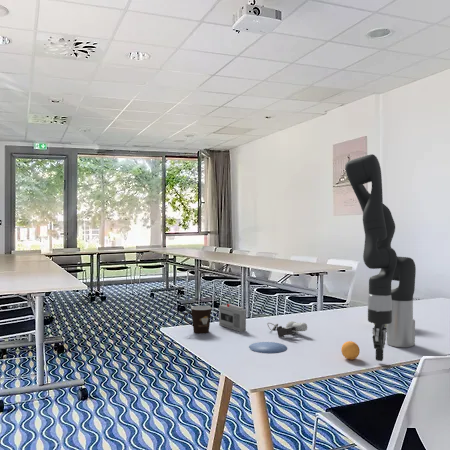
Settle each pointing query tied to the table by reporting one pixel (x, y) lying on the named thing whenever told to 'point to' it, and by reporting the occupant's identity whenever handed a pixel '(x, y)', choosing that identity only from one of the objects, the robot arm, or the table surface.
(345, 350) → the ball
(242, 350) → the table surface
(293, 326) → the clip-on lamp
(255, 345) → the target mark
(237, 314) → the cassette player
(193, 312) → the coffee mug
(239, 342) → the table surface
